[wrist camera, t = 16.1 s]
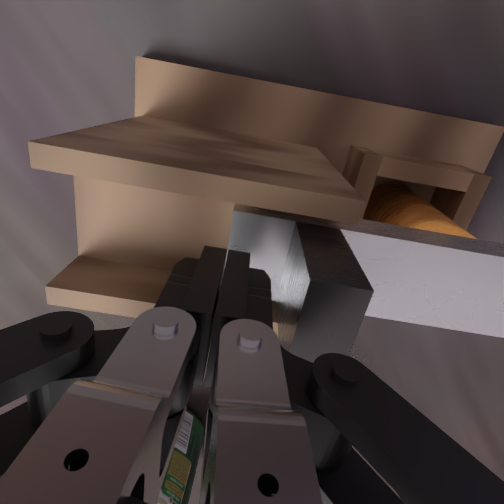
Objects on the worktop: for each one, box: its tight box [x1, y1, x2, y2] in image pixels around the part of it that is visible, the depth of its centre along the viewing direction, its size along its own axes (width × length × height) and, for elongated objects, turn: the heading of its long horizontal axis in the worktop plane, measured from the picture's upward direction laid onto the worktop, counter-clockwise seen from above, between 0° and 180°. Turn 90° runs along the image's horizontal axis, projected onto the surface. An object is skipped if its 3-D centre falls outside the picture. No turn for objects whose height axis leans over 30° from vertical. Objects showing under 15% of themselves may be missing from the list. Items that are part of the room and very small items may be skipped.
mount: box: [28, 56, 504, 336], centre depth 17 cm, size 22×12×12 cm, turn 80°
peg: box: [363, 182, 476, 239], centre depth 18 cm, size 4×4×8 cm
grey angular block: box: [224, 203, 504, 363], centre depth 12 cm, size 12×3×6 cm, turn 80°
